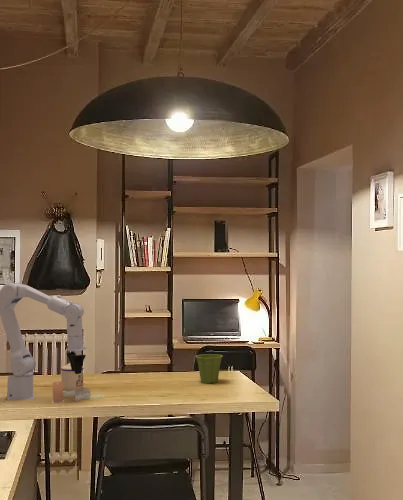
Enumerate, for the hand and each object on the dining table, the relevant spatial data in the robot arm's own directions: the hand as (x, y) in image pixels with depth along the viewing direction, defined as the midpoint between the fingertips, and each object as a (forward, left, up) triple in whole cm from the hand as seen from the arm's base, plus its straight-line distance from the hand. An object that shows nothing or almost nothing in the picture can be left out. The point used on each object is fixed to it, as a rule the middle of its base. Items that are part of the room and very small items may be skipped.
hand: (76, 372), depth 243 cm
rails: (-1, +1, -10) cm, 10 cm away
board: (+1, 0, -10) cm, 10 cm away
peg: (-7, -4, -10) cm, 13 cm away
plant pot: (+55, +26, -11) cm, 62 cm away
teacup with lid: (-2, +22, -11) cm, 25 cm away
